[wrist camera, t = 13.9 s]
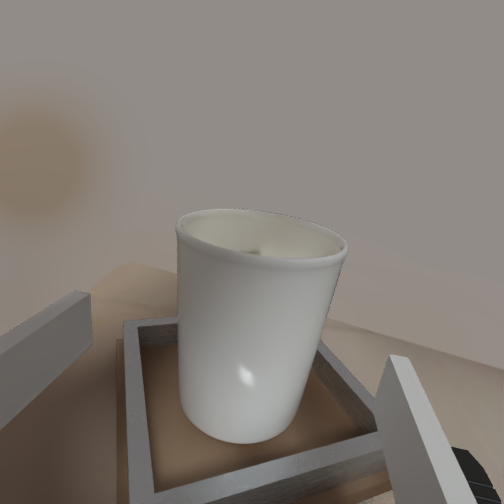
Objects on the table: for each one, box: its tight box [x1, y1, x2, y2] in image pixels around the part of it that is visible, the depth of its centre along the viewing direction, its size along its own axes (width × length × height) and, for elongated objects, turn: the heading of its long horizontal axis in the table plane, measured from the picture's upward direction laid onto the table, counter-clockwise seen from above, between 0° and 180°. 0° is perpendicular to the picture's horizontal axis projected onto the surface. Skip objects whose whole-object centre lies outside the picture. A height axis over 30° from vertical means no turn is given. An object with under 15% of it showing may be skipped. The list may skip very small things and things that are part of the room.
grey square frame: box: [123, 317, 387, 504], centre depth 22 cm, size 15×15×2 cm
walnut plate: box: [117, 339, 392, 504], centre depth 23 cm, size 16×16×1 cm
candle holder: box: [176, 209, 348, 444], centre depth 21 cm, size 10×10×12 cm
